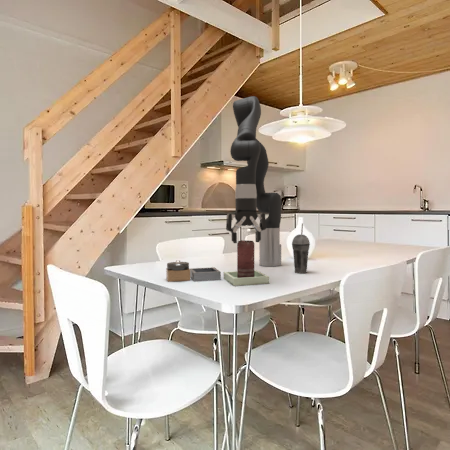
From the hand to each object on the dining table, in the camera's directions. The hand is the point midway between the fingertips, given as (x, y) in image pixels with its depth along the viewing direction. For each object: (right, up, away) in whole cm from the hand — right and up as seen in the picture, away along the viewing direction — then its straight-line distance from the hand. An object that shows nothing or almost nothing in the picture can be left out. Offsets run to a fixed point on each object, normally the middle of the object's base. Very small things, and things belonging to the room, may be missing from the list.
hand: (246, 242), depth 128 cm
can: (0, -14, +1) cm, 14 cm away
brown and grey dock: (-20, -14, +6) cm, 25 cm away
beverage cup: (+23, -13, +17) cm, 32 cm away
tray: (0, -14, +1) cm, 14 cm away
